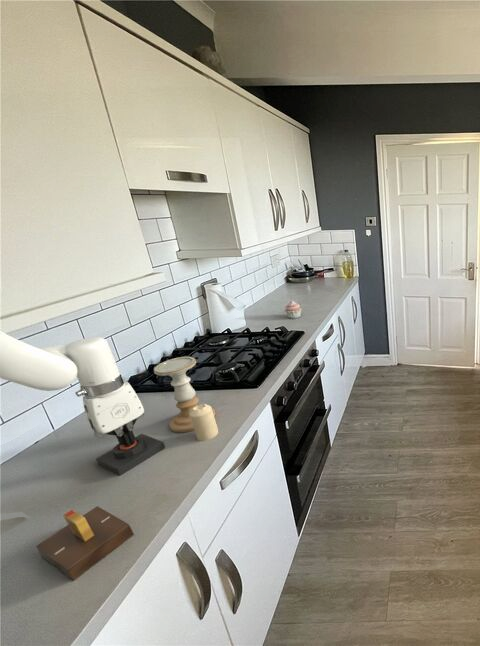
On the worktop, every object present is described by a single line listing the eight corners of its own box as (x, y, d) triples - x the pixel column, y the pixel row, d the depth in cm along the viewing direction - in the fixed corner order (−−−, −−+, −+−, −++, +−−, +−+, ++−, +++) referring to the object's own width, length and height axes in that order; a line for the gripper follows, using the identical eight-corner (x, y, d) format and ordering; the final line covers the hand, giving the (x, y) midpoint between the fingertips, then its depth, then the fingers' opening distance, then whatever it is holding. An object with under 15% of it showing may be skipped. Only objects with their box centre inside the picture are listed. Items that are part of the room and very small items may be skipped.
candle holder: (182, 411, 115) (163, 357, 107) (222, 407, 116) (206, 353, 109) (161, 435, 103) (139, 376, 96) (206, 430, 105) (187, 371, 98)
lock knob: (94, 535, 70) (84, 516, 68) (85, 542, 69) (74, 522, 67) (82, 527, 72) (72, 508, 70) (73, 533, 70) (62, 514, 68)
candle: (209, 427, 106) (200, 399, 103) (222, 430, 105) (214, 402, 101) (192, 438, 102) (183, 410, 98) (206, 442, 100) (197, 413, 96)
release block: (120, 476, 89) (115, 463, 87) (98, 465, 93) (93, 453, 91) (165, 448, 98) (161, 436, 97) (144, 439, 102) (139, 428, 100)
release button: (126, 455, 92) (124, 450, 92) (118, 452, 94) (116, 446, 93) (141, 446, 95) (139, 441, 95) (133, 443, 97) (131, 438, 96)
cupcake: (286, 315, 202) (283, 299, 199) (303, 313, 205) (300, 297, 202) (285, 321, 194) (282, 304, 191) (302, 318, 197) (300, 302, 193)
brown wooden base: (73, 580, 65) (66, 569, 64) (42, 556, 69) (35, 545, 68) (134, 534, 73) (129, 523, 72) (102, 515, 78) (97, 505, 77)
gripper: (73, 404, 80) (103, 467, 86) (145, 374, 92) (166, 430, 99) (57, 398, 82) (87, 458, 89) (128, 369, 95) (150, 424, 102)
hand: (128, 443), depth 94 cm, fingers closed
